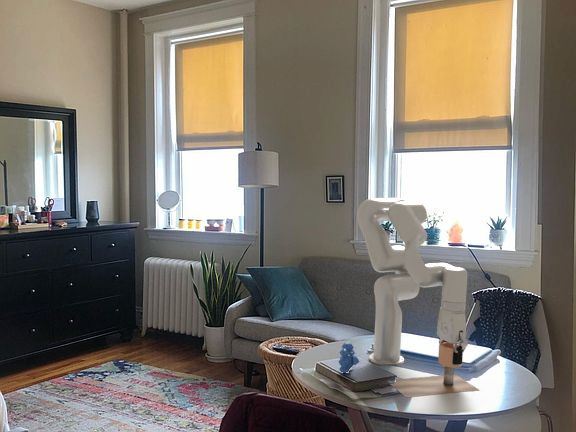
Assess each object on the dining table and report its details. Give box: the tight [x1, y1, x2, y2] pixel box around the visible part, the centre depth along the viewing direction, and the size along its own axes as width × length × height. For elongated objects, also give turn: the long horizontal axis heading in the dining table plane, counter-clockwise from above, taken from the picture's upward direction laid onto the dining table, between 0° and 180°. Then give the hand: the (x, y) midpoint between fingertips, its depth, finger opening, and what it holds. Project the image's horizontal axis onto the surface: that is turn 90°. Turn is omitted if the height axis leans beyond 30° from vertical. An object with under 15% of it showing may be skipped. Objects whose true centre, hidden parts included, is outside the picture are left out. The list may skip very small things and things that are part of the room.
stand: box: [389, 366, 480, 398], centre depth 187 cm, size 14×26×8 cm, turn 107°
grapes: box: [338, 342, 360, 373], centre depth 196 cm, size 12×7×12 cm, turn 159°
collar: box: [437, 342, 463, 369], centre depth 188 cm, size 7×7×6 cm
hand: (450, 359), depth 189 cm, fingers closed on collar, 7 cm apart
